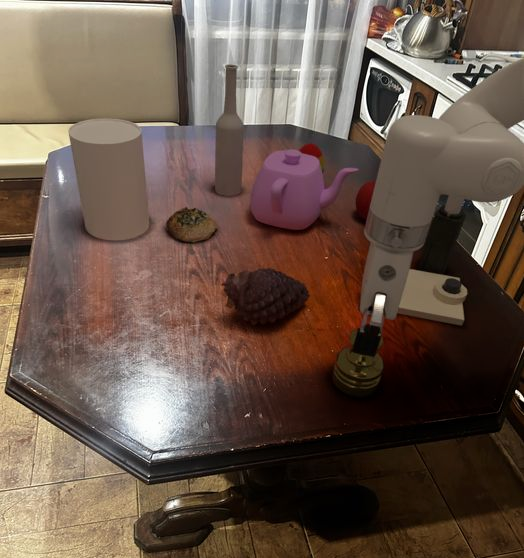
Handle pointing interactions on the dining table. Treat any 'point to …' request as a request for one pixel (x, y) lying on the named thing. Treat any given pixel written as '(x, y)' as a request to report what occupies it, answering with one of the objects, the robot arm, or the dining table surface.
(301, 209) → the teapot
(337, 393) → the dining table surface
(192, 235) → the bread roll
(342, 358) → the brass cabinet knob
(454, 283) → the dark round knob center
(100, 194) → the canister
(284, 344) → the dining table surface
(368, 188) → the apple
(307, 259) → the dining table surface
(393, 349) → the dining table surface
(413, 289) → the white base plate
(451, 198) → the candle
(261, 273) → the pine cone
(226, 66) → the bottle
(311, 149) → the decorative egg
